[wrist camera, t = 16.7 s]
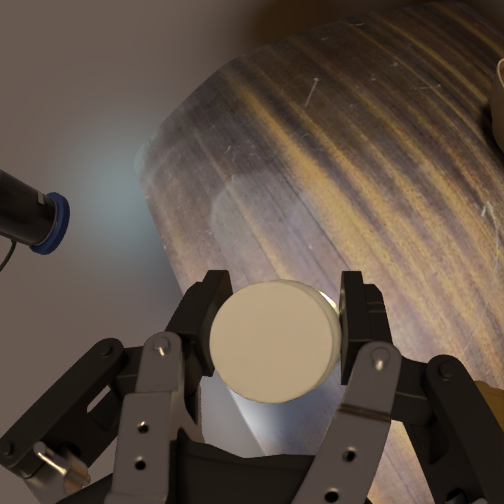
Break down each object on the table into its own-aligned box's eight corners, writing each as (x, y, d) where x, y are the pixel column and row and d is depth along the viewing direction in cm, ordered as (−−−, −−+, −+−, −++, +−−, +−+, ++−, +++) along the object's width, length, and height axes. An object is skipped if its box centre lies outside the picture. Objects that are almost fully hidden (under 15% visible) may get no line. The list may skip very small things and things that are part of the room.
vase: (475, 433, 22) (538, 473, 8) (441, 422, 24) (502, 469, 10) (498, 387, 23) (571, 407, 9) (465, 374, 24) (541, 394, 11)
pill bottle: (253, 292, 16) (199, 260, 9) (335, 295, 15) (354, 265, 8) (247, 372, 15) (187, 408, 8) (330, 378, 14) (342, 425, 7)
